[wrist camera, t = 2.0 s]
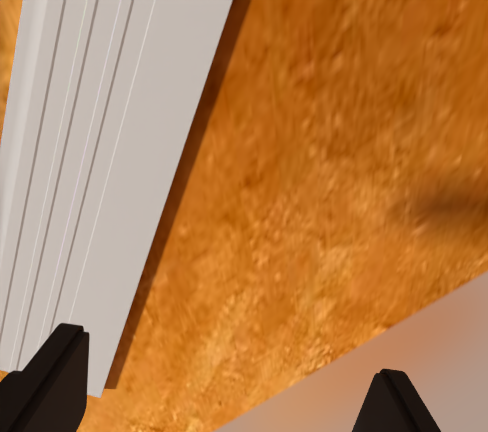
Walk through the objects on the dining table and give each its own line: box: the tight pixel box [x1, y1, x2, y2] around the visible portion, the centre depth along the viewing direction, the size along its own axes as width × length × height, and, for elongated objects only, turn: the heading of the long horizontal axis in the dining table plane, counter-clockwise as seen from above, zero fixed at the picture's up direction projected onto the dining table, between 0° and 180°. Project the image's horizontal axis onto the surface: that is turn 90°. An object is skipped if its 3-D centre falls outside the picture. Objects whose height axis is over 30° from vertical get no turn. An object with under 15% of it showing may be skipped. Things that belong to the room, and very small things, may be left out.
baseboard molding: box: [0, 0, 233, 398], centre depth 21 cm, size 31×3×12 cm
